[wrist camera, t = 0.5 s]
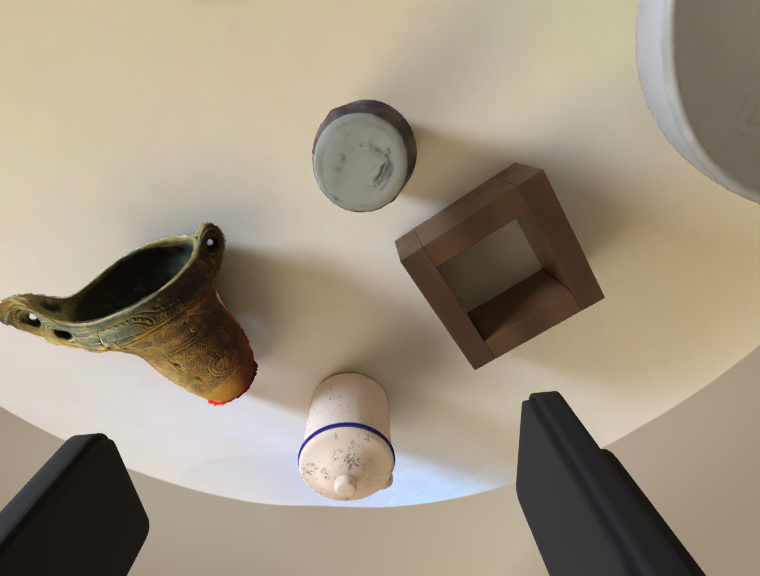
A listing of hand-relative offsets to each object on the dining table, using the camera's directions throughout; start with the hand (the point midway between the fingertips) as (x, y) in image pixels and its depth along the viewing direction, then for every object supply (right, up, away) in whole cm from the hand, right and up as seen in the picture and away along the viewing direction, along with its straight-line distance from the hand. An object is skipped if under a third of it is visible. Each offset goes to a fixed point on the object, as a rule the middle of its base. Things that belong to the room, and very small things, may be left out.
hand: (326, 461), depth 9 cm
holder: (+12, +7, +30) cm, 33 cm away
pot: (-19, +4, +30) cm, 36 cm away
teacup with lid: (-1, -10, +37) cm, 38 cm away
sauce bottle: (0, +16, +26) cm, 30 cm away
